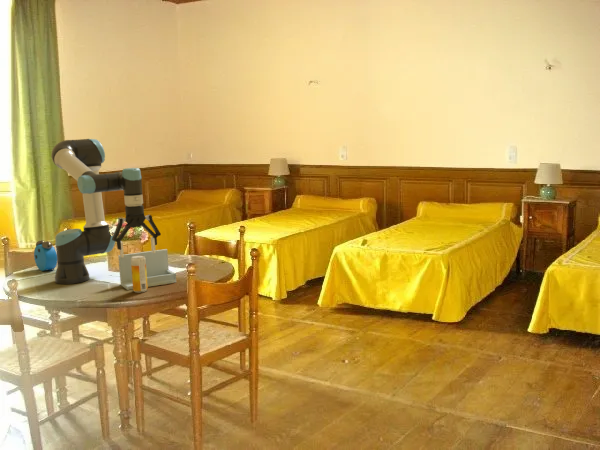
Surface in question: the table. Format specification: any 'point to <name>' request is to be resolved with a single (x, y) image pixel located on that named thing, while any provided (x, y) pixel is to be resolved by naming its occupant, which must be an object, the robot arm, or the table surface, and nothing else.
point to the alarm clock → (45, 255)
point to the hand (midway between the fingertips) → (138, 255)
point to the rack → (147, 269)
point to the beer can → (139, 274)
